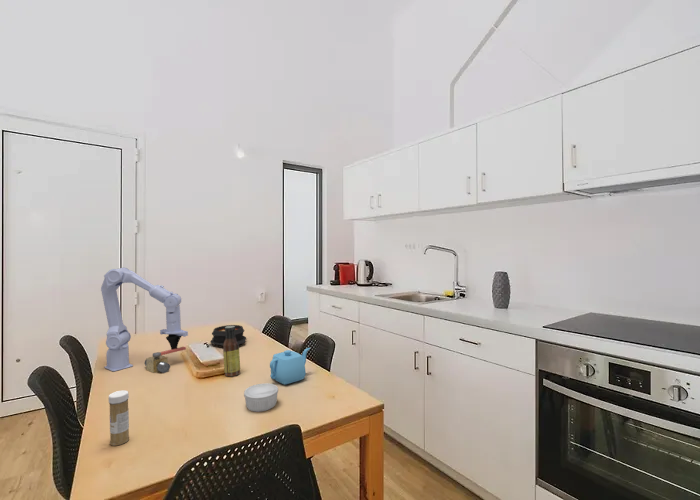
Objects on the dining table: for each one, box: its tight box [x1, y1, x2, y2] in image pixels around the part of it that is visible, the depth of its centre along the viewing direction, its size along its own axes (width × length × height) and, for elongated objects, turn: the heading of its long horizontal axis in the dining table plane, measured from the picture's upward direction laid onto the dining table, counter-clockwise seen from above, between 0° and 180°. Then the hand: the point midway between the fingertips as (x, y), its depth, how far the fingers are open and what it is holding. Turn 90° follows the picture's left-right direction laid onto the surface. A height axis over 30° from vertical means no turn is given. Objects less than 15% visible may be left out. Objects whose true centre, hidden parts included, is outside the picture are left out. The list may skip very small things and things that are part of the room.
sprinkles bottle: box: [108, 390, 130, 447], centre depth 96 cm, size 5×5×13 cm
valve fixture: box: [144, 355, 171, 374], centre depth 152 cm, size 14×6×6 cm, turn 55°
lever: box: [152, 346, 187, 357], centre depth 156 cm, size 3×14×1 cm, turn 140°
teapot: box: [269, 347, 311, 385], centre depth 139 cm, size 12×18×12 cm
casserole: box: [209, 324, 247, 347], centre depth 191 cm, size 25×19×8 cm
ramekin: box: [243, 382, 279, 413], centre depth 116 cm, size 11×11×5 cm
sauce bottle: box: [222, 325, 241, 377], centre depth 144 cm, size 6×6×20 cm
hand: (174, 350), depth 159 cm, fingers closed, pressing on lever
